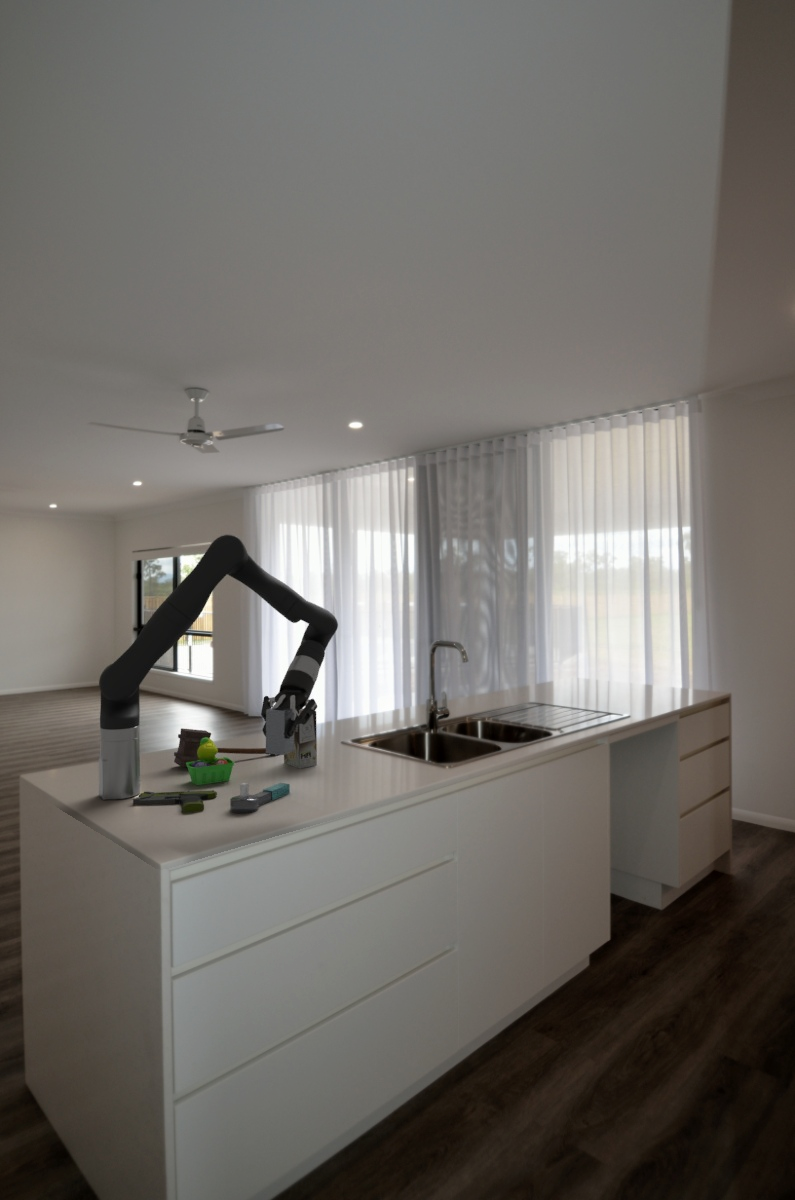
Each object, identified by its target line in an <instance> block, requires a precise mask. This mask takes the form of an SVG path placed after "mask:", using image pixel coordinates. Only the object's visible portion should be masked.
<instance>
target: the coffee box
mask: <svg viewBox="0 0 795 1200" xmlns="http://www.w3.org/2000/svg"><path fill="white" fill-rule="evenodd" d="M303 709H304V707H303V708H302V709H300V713H301V712H302V711H303ZM317 738H318V737H317V710H315V711H314V713H313V714H312V715H311V717H310V718H309V720H308V721H307V723H306V724H304V725H303V724H299V725H298V726H296V729H295V731H294V751H292V752H290V753H288V754H285V755H283V764H285V765H288V766H291V767H295V768H298V769H304V768H309V767H314V766H318V755H317V754H318V750H317V749H318V747H317V745H318V744H317V743H318V742H317Z"/></svg>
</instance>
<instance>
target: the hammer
mask: <svg viewBox="0 0 795 1200" xmlns="http://www.w3.org/2000/svg"><path fill="white" fill-rule="evenodd" d="M211 735H212V733H211V732H209V731H207V730H202V729H193V728H180V733H178V736H177V738H178V739H179V743H178V747H177V750H176V751H174V753H173V756H174V757H175V758H174V760H173V762H174V763H175V764H176V765H178V766H179V767H187V765H186V763H188V762H193V761H197V760H200V759H199V758H198V755H197V751H198V748H199V746H200V741H201V739H202V738H209V739H211ZM217 749H218V752H217V753H218V754H240V755H243V754H244V755H269V756H270V755H271V756H276V754H268V753H266V747H265V748H263V747H262V748H261V747H260V748H259V747H258V748H257V747H255V748H243V747H242V748H240V747H239V748H238V747H236V748H235V747H232V748H231V747H228V748H227V747H217Z"/></svg>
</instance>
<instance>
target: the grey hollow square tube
mask: <svg viewBox="0 0 795 1200" xmlns="http://www.w3.org/2000/svg"><path fill="white" fill-rule="evenodd" d="M292 710H293V709H290V708H284V707H278V708H272V707H271V709H268V710H266V737H265V748H266V753H268V754H269V755H271V754H275V755H279V756H280V755H281V756H282V755H283V756H284V755H285V754H288V753H290V752H292V751H294V734H293V736H292V737H290V739H286V737H285V735H284V732H285V730H286V727H287V725H288V723H289V721H291V715H292ZM268 754H267V755H268Z"/></svg>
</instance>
